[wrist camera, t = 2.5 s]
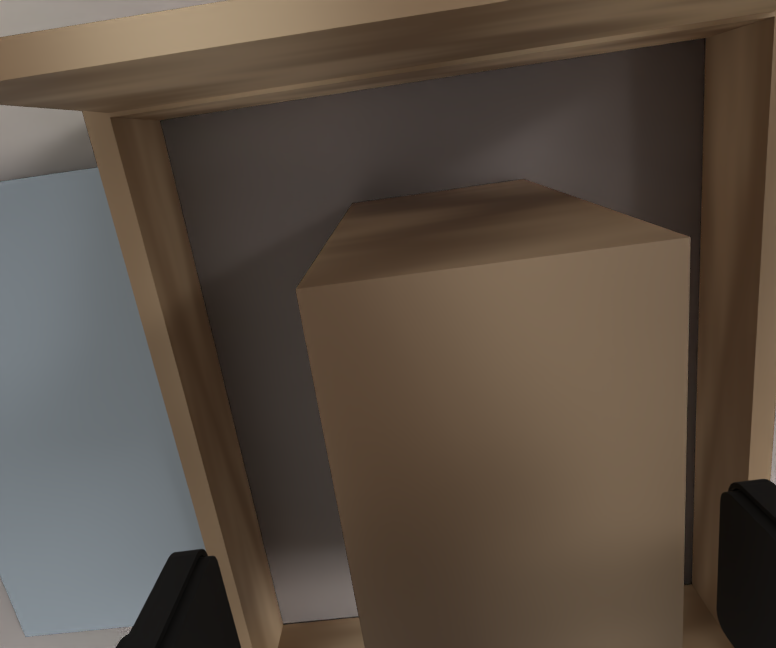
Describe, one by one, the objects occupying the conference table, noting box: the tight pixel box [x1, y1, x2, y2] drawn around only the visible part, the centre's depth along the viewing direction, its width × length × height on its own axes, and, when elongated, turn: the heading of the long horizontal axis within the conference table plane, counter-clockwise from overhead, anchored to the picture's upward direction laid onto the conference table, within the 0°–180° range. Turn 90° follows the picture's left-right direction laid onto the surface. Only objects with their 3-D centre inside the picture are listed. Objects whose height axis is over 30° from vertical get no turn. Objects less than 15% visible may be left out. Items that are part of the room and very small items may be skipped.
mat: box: [0, 167, 206, 637], centre depth 19 cm, size 8×16×1 cm, turn 8°
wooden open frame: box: [0, 0, 776, 648], centre depth 14 cm, size 16×19×9 cm
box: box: [295, 179, 691, 648], centre depth 14 cm, size 5×12×10 cm, turn 8°
